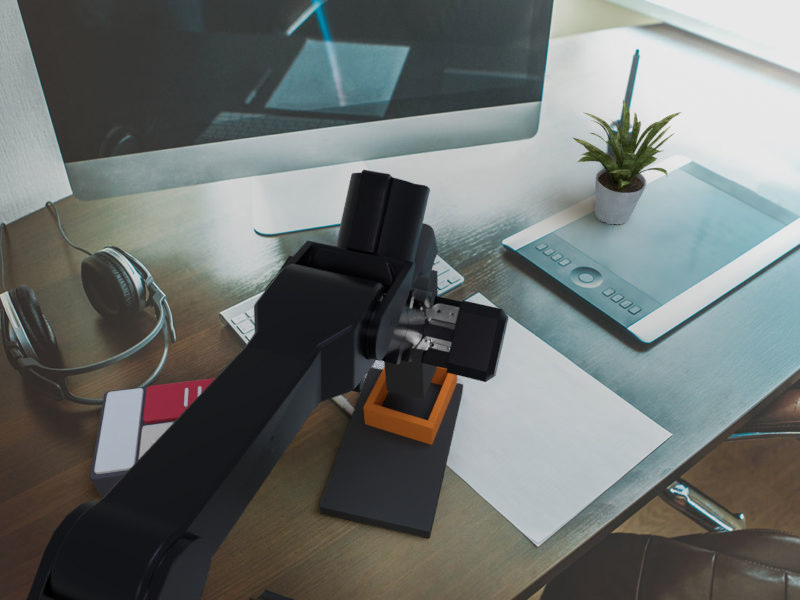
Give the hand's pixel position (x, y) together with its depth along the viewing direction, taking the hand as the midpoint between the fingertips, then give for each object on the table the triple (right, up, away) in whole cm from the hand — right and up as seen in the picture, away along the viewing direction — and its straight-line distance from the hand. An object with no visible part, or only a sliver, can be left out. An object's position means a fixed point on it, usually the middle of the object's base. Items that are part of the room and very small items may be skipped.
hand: (415, 323), depth 64 cm
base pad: (-2, -14, +5) cm, 14 cm away
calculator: (-25, -13, +6) cm, 29 cm away
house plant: (+31, +16, +34) cm, 49 cm away
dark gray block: (0, -6, +4) cm, 7 cm away
